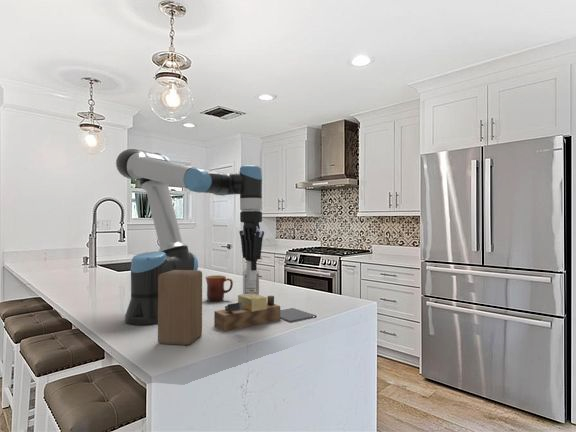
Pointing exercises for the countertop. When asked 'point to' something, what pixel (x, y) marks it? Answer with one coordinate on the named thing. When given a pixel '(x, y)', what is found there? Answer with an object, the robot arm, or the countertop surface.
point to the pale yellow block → (253, 302)
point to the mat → (294, 315)
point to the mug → (216, 287)
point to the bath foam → (250, 283)
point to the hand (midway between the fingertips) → (251, 279)
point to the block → (179, 306)
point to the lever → (234, 307)
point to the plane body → (246, 317)
